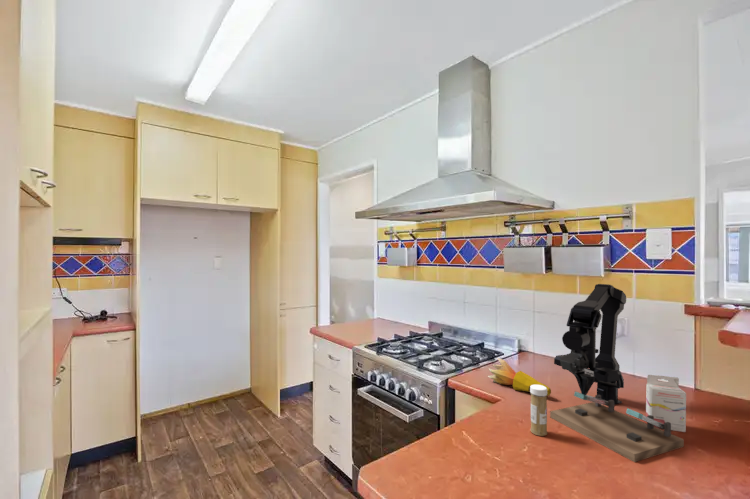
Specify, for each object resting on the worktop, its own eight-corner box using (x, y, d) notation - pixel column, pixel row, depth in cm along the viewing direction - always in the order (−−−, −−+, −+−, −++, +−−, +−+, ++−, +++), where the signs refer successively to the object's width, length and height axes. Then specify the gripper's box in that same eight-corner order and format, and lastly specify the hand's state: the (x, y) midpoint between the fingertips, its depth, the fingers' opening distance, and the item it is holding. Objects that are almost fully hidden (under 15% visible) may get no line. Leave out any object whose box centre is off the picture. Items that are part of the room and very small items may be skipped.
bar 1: (600, 403, 118) (601, 398, 118) (610, 407, 115) (611, 402, 116) (573, 395, 114) (574, 391, 114) (583, 399, 111) (584, 395, 111)
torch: (546, 411, 128) (487, 381, 148) (557, 396, 132) (498, 369, 152) (543, 394, 125) (483, 366, 145) (555, 379, 129) (495, 354, 149)
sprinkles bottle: (548, 437, 102) (548, 390, 102) (531, 435, 104) (531, 388, 104) (545, 430, 107) (546, 384, 107) (529, 427, 108) (529, 383, 108)
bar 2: (653, 425, 103) (654, 420, 104) (665, 430, 100) (667, 425, 101) (625, 413, 99) (627, 408, 99) (638, 418, 96) (639, 412, 96)
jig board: (594, 407, 122) (594, 391, 122) (683, 446, 98) (683, 426, 98) (550, 417, 115) (550, 400, 115) (634, 462, 91) (634, 440, 91)
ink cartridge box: (651, 428, 108) (651, 379, 108) (645, 420, 113) (645, 373, 113) (686, 432, 105) (686, 382, 105) (678, 425, 110) (678, 376, 110)
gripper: (542, 339, 119) (541, 387, 119) (594, 355, 102) (593, 410, 102) (566, 337, 123) (566, 383, 123) (621, 352, 106) (620, 405, 106)
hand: (584, 394), depth 113 cm, fingers closed, pressing on bar 1
